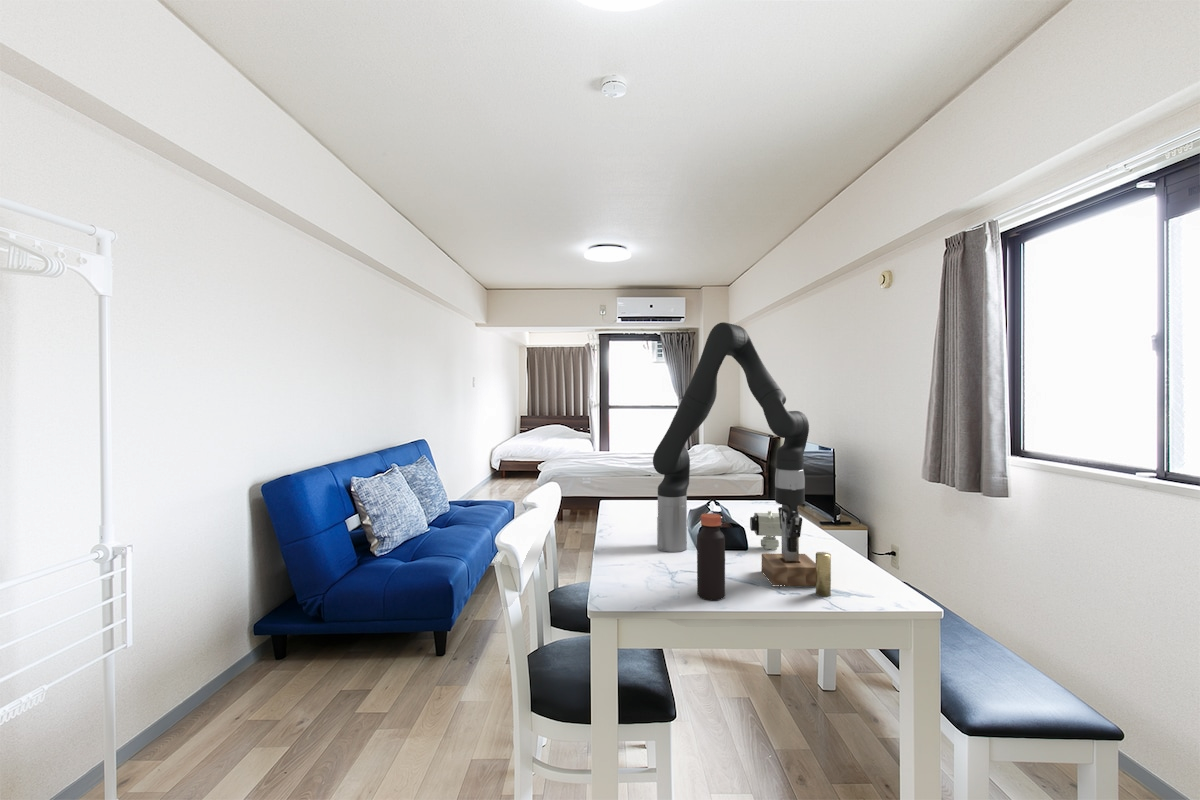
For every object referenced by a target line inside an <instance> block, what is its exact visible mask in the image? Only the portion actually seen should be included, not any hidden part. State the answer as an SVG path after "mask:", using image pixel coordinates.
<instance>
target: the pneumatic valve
mask: <svg viewBox="0 0 1200 800" xmlns="http://www.w3.org/2000/svg"><path fill="white" fill-rule="evenodd" d="M749 528H750V531H751V532H754V534H755V535H756V536H761V537H762V539H760V546H761V547H762V548H763V549H764V550H765V549H776V550H777V549H778V548H779V547H780V546H779V545H780V544H779V543H780V542H779V539H776V537H782V529H781V528H780V519H779V512H776V513H775V512H772V510H768V511H767V512H754V515H753V516H750V518H749Z"/></svg>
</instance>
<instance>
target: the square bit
mask: <svg viewBox="0 0 1200 800" xmlns="http://www.w3.org/2000/svg"><path fill="white" fill-rule="evenodd" d="M788 525H789V526H791V524H788ZM793 533H795V530H794V531H793ZM799 540H800V537H798V538H797V551H796V552H789V551H788V536H787V529H786V528H785V521H782V536H781V554H782V558H783V559H784V560H785V561H799V554H800V553H799V552H800V550H799V547H800V545H799V544H800V543H799V542H800V541H799Z"/></svg>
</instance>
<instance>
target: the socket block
mask: <svg viewBox="0 0 1200 800" xmlns="http://www.w3.org/2000/svg"><path fill="white" fill-rule="evenodd" d="M761 573H762V574H763V573H764V574H765V575H766V576H765V575H764V574H763V575H764V576H765V578H766V577H767V578H768V579H769V580H768V579H767V578H766V579H767V580H768V582H769V581H770V582H771V583H772V584H771V583H770V582H769V583H770V584H771V586H772V585H779V586H778V587H780V585H782V586H784V585H785V586H816V561H814V560H812V559H811V558H810V557H809V555H807V554H806V553H799V561H785V560H784V559H783V558H782V553H761Z"/></svg>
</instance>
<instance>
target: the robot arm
mask: <svg viewBox="0 0 1200 800" xmlns="http://www.w3.org/2000/svg"><path fill="white" fill-rule="evenodd" d="M726 356H729V357H732V358H733V359H734V360H735V361H736V362H737V363H738V364H739V365H740V367H741V369H742V370H743V373H744V375H745V379H746V382H747V385H748V388H749V390H750V392H751V394H752V396H753V397H754V398H755V400H756V401H757V403H758V405H759V406H760V407H761V408H762V411H763V414H764V416H765V417H764V418H765V419H766V423H767V425H768V427H769V429H770V430H771V432H772V433H773V434H774V435H775V436H777V437H779V438H781V439H784V441H783V443H782V445H781V446H780V447H778V448H777V449H776V453H775V474H774V492H775V493H774V499H775V503H777V504H778V505H781V507H779V506H778V508H777V510H778V513H779V519H780V528H781V529H782V521H785V528H786V529H787V536H788V551H789V552H796V551H797V538H798V537H799V538H800V537H801V534H802V526H803V517H802V516H800V511H799V508H798V507H799V506H802V505H804V504H805V501H806V498H805V493H806V492H805V491H806V490H805V487H806V478H805V471H804V467H805V466H804V461H805V460H804V453H805V449H806V446H807V442H808V441H807V440H808V437H809V432H810V424H809V423H810V422H809V420H808V417H807V415H806V414H805V413H803V412H802V411H799V410H787V409H786V407H785V406H784V405H785V404H786V401H787V397H786V395H785V393H784V391H783V390H782V389H781V388H780V386H779V385H778V383H777V381H775V379H774V378H773V376H772V375H771V374H770V372H769V370H768V369H767V368H766V365H765V364H764V363H763V361H762V359H761V358H760V355H759V353H758V352H757V350H756V347H755V346H754V343H753V341H752V339H751V337H750V335H749V333H748V332H747V331H746V329H745V328H744V327H742V326H740V325H737V324H734V323H733V324H732V323H729V322H719V323H717V324H715V325H714V326H713V327H712V328H711V330H710V332H709V334H708V336H707V339H706V342H705V344H704V347H703V350H702V353H701V355H700V359H699V362H698V364H697V367H695V371H694V373H693V375H692V377H691V379H690V381H689V384H688V386H687V388H686V390H685V391H684V393H683V396H682V398H681V401H680V403H679V406H678V408H677V410H676V411H675V413H674V416H673V418H672V421H671V422H670V425H669V427H668V429H667V430H666V433H665V434H664V436H663V438H662V439H661V441H660V442H659V444H658V446H657V447H656V449H655V451H654V453H653V457H652V464H653V468H654V470H655V471H656V473H658V474H660V475H663V476H664V477H663V479H662V481H661V482H660V484H658V486H657V517H656V524H657V525H656V526H657V527H656V531H657V532H656V538H657V541H656V542H657V543H656V545H657V550H658V551H664V552H667V553H668V552H670V553H676V552H683V551H686V550H687V548H688V547H687V546H688V541H687V540H688V537H687V535H688V533H687V531H688V528H687V527H688V524H687V523H688V519H687V518H688V517H687V516H688V512H687V509H688V506H687V505H688V504H687V503H688V502H687V498H688V496H687V495H688V494H687V493H688V492H687V491H688V488H689V485H690V476H691V475H690V474H691V473H690V470H691V460H690V458H691V457H690V454H689V452H688V449H687V448H686V447H685V445H686V443H687V442H688V440H689V439H690V437H692V435H693V434H694V433H695V432H696V431H697V430H698V428H700V426H701V425H702V424H703V423H704V421H705V420H706V419H707V418H708V416H709V414H710V412H711V409H713V405H714V403H715V401H716V398H717V392H718V386H717V385H718V384H717V383H718V373H719V370H720V368H721V366H722V364H723V362H724V360H725V358H726ZM788 524H791V526H789V525H788ZM794 530H795V533H793V531H794Z"/></svg>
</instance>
